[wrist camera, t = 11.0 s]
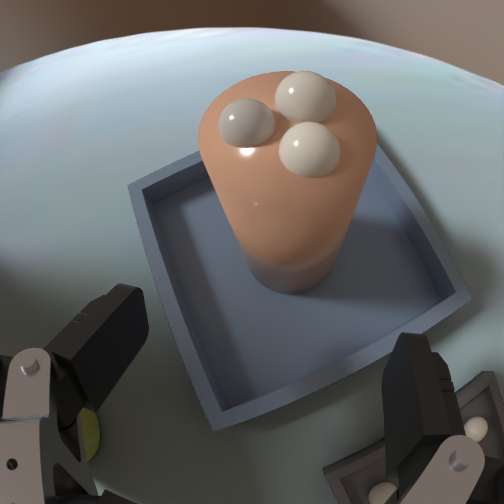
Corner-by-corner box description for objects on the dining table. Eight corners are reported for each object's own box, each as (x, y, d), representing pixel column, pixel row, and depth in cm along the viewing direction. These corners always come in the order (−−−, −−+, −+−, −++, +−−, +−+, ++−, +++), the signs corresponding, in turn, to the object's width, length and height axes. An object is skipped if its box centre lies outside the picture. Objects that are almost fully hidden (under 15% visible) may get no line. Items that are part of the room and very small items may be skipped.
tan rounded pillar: (267, 309, 17) (228, 218, 6) (232, 230, 18) (169, 82, 8) (351, 270, 17) (423, 140, 7) (310, 196, 19) (319, 35, 8)
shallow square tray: (224, 422, 16) (213, 432, 13) (143, 203, 21) (127, 185, 18) (452, 306, 16) (472, 298, 14) (336, 122, 21) (340, 98, 19)
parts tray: (378, 577, 10) (384, 593, 8) (322, 468, 14) (326, 481, 12) (514, 490, 11) (530, 498, 9) (482, 371, 14) (501, 370, 12)
